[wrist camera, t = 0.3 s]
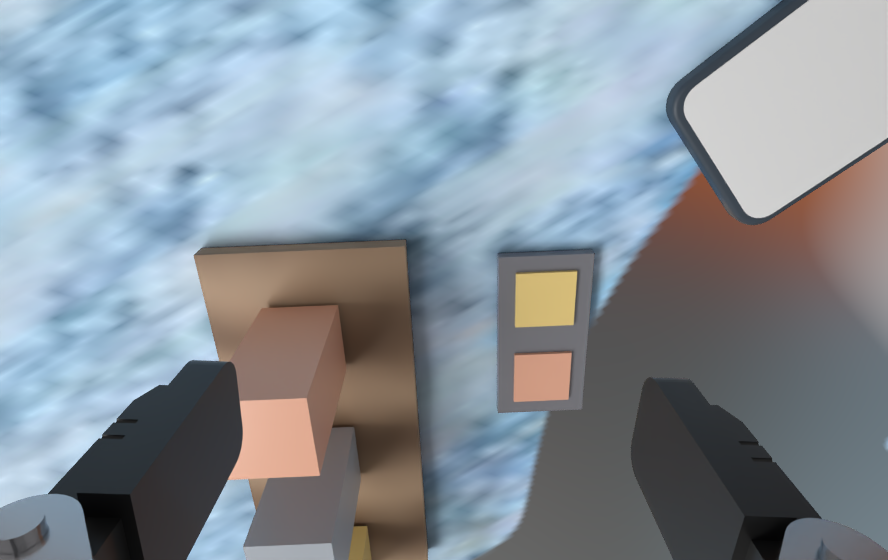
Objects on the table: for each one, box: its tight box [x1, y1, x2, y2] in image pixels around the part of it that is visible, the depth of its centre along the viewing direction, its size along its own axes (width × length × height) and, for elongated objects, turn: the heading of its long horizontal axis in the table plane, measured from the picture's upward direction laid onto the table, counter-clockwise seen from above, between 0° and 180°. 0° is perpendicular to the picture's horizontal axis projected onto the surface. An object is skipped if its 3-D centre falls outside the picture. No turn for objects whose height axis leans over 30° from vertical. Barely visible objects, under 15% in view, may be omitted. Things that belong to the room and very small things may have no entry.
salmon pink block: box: [228, 305, 346, 480], centre depth 26 cm, size 4×4×8 cm
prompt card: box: [497, 249, 595, 413], centre depth 31 cm, size 10×5×1 cm, turn 2°
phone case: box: [666, 0, 888, 225], centre depth 25 cm, size 9×2×16 cm
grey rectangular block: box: [243, 427, 361, 560], centre depth 29 cm, size 4×4×8 cm
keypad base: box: [194, 240, 428, 560], centre depth 33 cm, size 23×11×1 cm, turn 2°
